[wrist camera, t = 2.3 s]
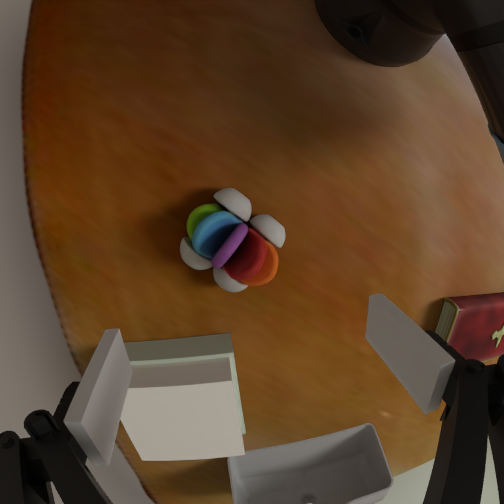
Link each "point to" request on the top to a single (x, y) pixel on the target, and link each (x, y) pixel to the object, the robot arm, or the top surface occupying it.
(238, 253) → the chunky wheeled toy
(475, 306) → the hardcover book
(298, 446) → the light grey storage bin
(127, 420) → the grey square box
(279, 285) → the top surface
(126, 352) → the robot arm
